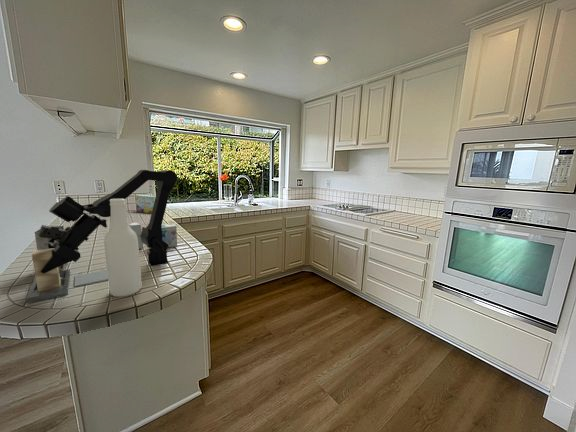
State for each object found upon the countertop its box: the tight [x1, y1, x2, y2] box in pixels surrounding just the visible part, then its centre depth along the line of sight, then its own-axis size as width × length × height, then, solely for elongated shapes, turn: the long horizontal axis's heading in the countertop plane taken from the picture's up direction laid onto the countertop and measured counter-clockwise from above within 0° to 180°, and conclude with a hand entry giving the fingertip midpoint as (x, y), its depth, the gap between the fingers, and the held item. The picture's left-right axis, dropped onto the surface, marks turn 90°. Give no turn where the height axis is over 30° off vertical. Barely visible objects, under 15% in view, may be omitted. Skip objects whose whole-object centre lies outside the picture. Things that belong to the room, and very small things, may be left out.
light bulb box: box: [162, 223, 178, 248], centre depth 127 cm, size 11×7×11 cm, turn 129°
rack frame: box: [25, 268, 71, 304], centre depth 83 cm, size 9×20×2 cm, turn 39°
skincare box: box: [129, 222, 144, 250], centre depth 123 cm, size 6×4×12 cm
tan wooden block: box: [31, 248, 62, 292], centre depth 79 cm, size 5×5×13 cm
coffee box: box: [34, 225, 70, 271], centre depth 95 cm, size 9×6×16 cm
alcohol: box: [103, 199, 143, 298], centre depth 78 cm, size 9×9×30 cm
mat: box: [74, 269, 108, 288], centre depth 90 cm, size 10×10×1 cm
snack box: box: [134, 194, 156, 214], centre depth 220 cm, size 21×6×15 cm, turn 72°
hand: (41, 270), depth 78 cm, fingers closed on tan wooden block, 5 cm apart
